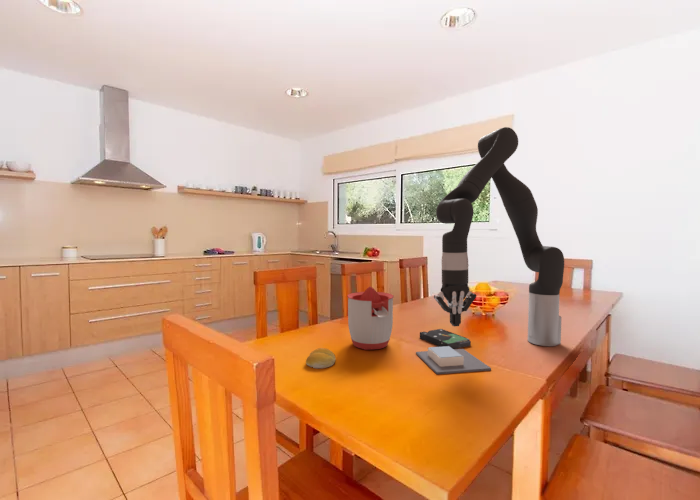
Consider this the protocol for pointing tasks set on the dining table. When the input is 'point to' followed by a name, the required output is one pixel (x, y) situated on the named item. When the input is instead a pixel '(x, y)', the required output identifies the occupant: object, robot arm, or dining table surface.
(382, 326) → the citrus juicer
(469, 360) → the mat
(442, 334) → the disk drive
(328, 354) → the bread roll
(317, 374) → the dining table surface
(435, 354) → the block
